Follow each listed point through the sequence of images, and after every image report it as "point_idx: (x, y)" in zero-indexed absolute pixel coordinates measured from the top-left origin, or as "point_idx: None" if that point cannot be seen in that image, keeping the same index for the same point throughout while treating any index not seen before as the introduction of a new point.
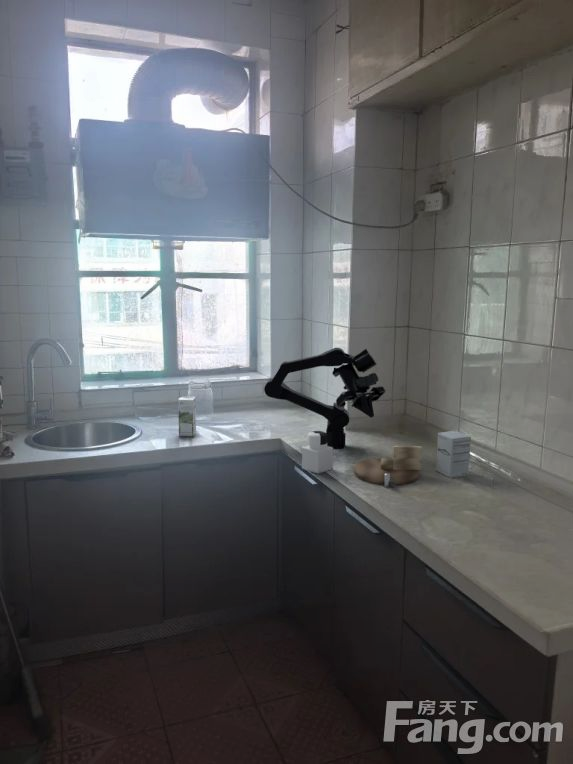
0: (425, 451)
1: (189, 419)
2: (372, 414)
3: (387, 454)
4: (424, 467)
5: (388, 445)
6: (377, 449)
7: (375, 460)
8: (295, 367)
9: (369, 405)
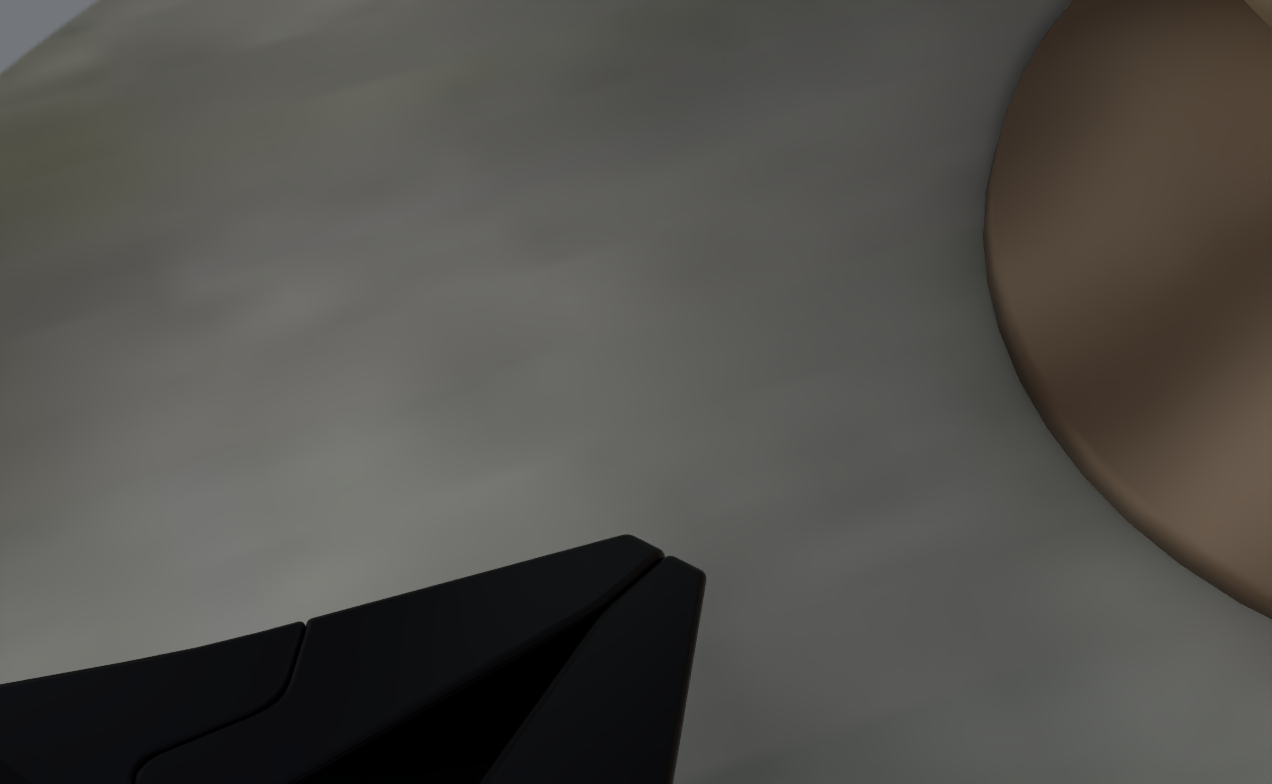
0: (284, 163)
1: None
2: (660, 577)
3: (581, 505)
4: (871, 3)
5: (163, 624)
6: None
7: (1221, 463)
8: None
9: (352, 771)
